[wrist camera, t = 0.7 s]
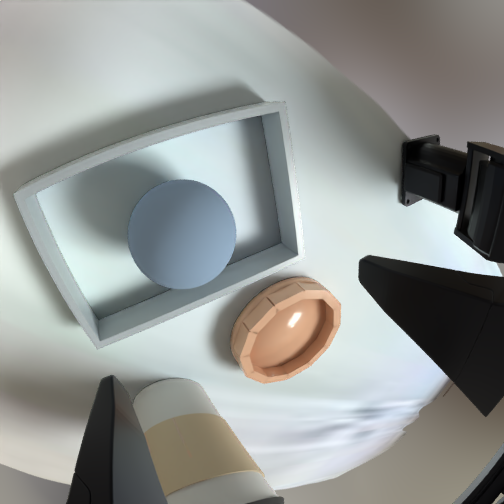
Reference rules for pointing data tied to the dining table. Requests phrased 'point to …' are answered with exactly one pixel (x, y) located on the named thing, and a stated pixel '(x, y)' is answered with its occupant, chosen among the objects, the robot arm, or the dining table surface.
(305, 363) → the bowl
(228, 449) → the coffee cup
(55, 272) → the shallow serving tray
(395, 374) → the dining table surface
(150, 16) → the dining table surface
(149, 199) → the ball
